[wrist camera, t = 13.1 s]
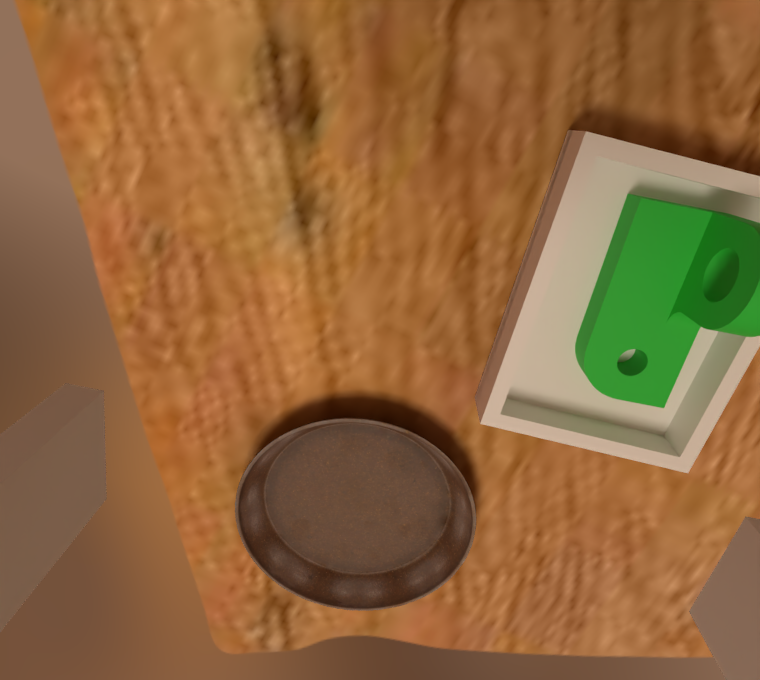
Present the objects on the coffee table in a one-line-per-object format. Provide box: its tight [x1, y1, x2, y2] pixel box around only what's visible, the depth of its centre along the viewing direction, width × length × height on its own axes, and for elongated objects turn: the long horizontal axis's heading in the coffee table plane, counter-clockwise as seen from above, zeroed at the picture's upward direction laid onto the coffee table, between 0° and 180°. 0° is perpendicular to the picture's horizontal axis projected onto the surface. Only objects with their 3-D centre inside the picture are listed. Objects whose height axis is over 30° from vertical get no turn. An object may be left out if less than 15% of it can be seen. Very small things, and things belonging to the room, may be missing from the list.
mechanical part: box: [575, 194, 760, 408], centre depth 30 cm, size 12×6×8 cm, turn 170°
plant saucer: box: [235, 417, 476, 610], centre depth 41 cm, size 18×18×3 cm
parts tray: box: [475, 130, 760, 473], centre depth 33 cm, size 18×14×4 cm
